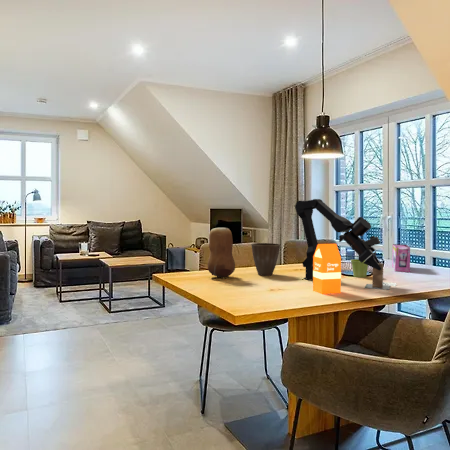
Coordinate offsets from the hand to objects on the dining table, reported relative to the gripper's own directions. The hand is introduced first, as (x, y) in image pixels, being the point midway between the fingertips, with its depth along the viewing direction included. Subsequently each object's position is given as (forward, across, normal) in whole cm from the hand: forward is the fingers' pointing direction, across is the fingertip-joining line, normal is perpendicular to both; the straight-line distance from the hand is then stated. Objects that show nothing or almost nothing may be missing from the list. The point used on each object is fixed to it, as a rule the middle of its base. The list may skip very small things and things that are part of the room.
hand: (381, 268), depth 192 cm
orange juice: (-8, -18, +20) cm, 29 cm away
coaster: (+5, 0, +7) cm, 9 cm away
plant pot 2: (-2, +28, +15) cm, 31 cm away
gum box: (+11, +70, +2) cm, 70 cm away
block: (+5, 0, +7) cm, 8 cm away
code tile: (+7, +10, +5) cm, 14 cm away
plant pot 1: (-35, +16, +47) cm, 61 cm away
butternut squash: (-47, -2, +60) cm, 76 cm away
